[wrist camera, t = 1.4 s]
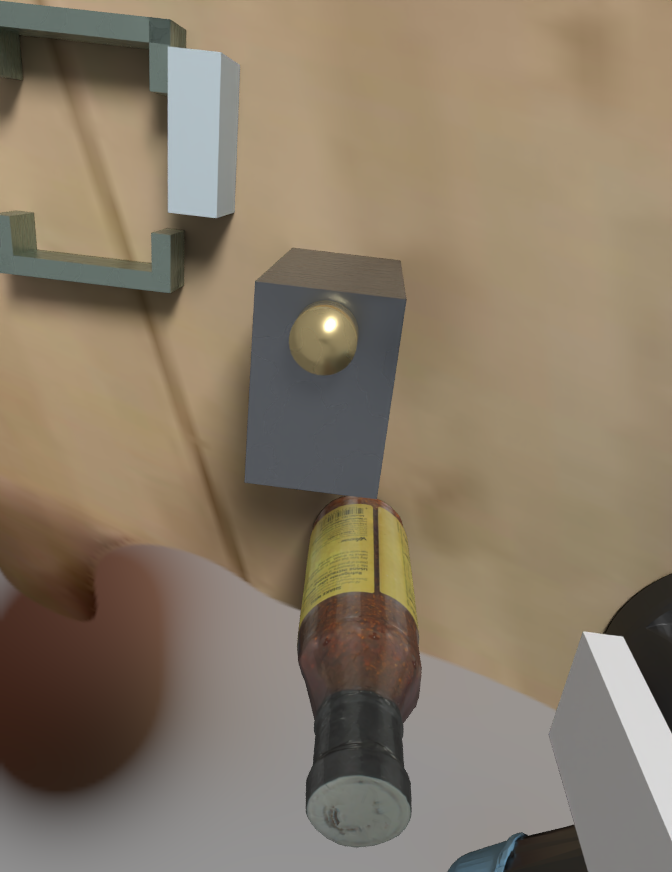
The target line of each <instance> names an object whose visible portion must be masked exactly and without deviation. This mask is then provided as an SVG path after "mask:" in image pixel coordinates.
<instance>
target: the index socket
mask: <svg viewBox="0 0 672 872" xmlns="http://www.w3.org/2000/svg"><path fill="white" fill-rule="evenodd" d="M19 35H24V36H33V37H42V38H51V39H60V40H69V41H78V42H87V43H96V44H105V45H114V46H123V47H132V48H141V49H149V72H150V91H151V92H154V93H157V94H161V95H164V96H168V47H177V48H186V30H185V29H184V28H182V27H181V26H179V25H178V24H176V23H175V22H173V21H172V20H170V19H161V18H152V17H142V16H133V15H124V14H115V13H106V12H97V11H88V10H78V9H69V8H60V7H51V6H42V5H33V4H24V3H15V2H5V1H0V77H2V78H8V79H17V80H23V76H22V63H21V51H20V39H19ZM151 243H152V263H144V262H136V261H128V260H119V259H111V258H102V257H94V256H86V255H77V254H69V253H60V252H52V251H44V250H37V247H36V234H35V222H34V213H32V212H23V211H9V212H2V213H0V273H6V274H15V275H23V276H31V277H40V278H48V279H56V280H65V281H73V282H81V283H90V284H98V285H106V286H115V287H123V288H131V289H140V290H148V291H156V292H165V293H172V292H173V291H175V290H177V289H178V288H180V287H182V286H183V285H184V230H177V229H168V228H166V229H163V230H159V231H156V232H153V233H151Z"/></svg>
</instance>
